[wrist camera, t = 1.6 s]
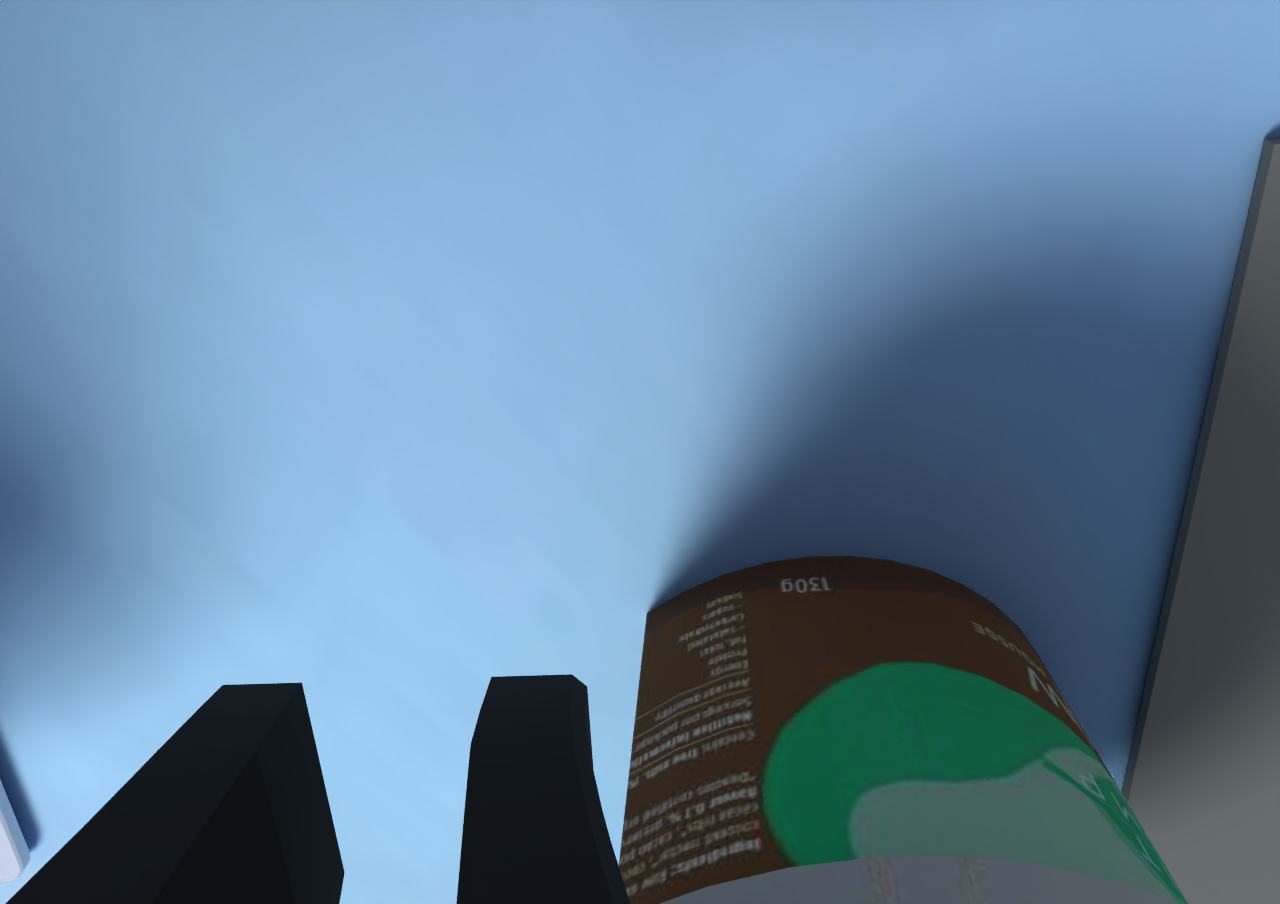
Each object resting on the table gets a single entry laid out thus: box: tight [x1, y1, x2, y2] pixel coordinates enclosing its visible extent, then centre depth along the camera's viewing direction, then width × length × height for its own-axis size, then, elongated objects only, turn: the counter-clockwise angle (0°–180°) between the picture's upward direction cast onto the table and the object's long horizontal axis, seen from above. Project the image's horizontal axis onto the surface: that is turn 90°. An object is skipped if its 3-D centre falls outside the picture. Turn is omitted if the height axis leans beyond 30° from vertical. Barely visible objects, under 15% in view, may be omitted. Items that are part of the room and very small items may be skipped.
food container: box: [619, 556, 1188, 904], centre depth 18 cm, size 12×6×10 cm, turn 41°
